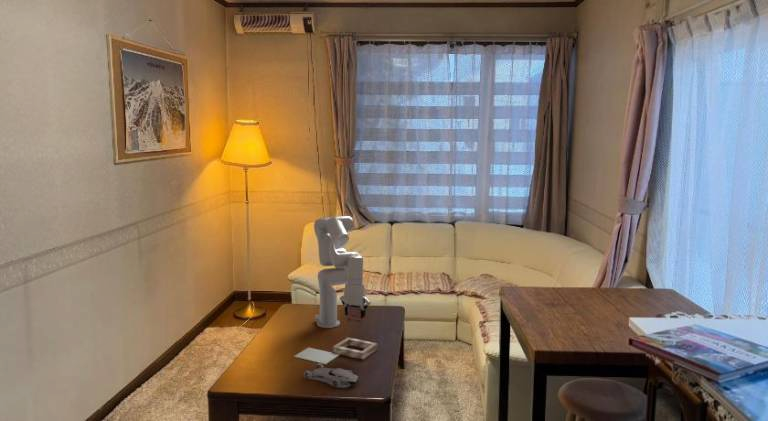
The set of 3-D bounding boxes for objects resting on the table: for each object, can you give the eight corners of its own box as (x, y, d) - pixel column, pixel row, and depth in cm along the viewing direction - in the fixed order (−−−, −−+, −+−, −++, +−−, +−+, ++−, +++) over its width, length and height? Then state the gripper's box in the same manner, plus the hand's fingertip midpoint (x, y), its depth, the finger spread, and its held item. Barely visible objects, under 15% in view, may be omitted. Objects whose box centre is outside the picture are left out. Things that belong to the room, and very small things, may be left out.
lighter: (364, 320, 259) (364, 301, 257) (361, 323, 255) (361, 303, 254) (348, 318, 261) (348, 299, 260) (345, 321, 258) (346, 301, 257)
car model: (317, 369, 241) (316, 358, 240) (363, 381, 229) (363, 370, 228) (301, 378, 231) (301, 367, 230) (349, 391, 219) (349, 380, 219)
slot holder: (332, 352, 258) (332, 346, 257) (347, 343, 270) (347, 337, 270) (363, 359, 250) (363, 353, 250) (377, 349, 262) (377, 343, 262)
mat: (293, 356, 253) (293, 356, 252) (308, 348, 263) (308, 347, 263) (325, 364, 244) (325, 363, 244) (339, 355, 255) (339, 354, 255)
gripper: (335, 280, 256) (335, 315, 258) (367, 285, 248) (367, 321, 251) (343, 276, 263) (343, 310, 265) (374, 281, 255) (374, 316, 257)
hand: (355, 315), depth 258 cm, fingers closed on lighter, 8 cm apart
